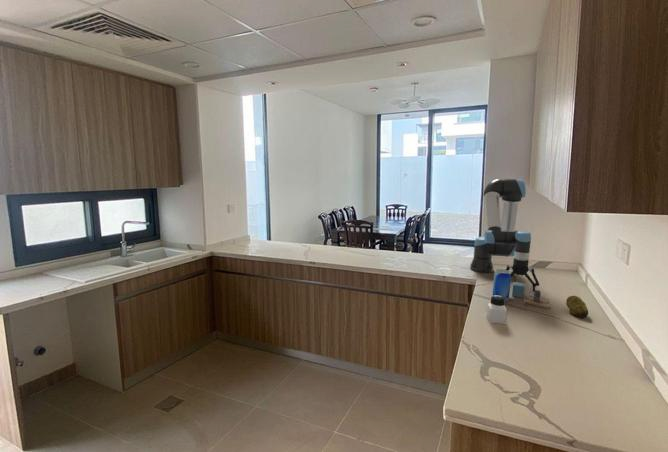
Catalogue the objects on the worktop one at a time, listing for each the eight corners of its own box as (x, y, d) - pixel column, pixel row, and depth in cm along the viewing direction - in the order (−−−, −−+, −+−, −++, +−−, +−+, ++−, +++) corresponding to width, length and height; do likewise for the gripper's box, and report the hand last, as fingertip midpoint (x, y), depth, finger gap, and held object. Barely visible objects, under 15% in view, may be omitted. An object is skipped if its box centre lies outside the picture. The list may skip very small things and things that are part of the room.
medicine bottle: (505, 324, 168) (508, 300, 166) (489, 322, 170) (491, 299, 168) (502, 317, 175) (504, 294, 173) (486, 316, 177) (488, 293, 175)
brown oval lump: (568, 317, 176) (570, 301, 175) (564, 307, 188) (565, 292, 186) (588, 320, 173) (590, 304, 171) (582, 310, 184) (585, 295, 183)
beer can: (505, 295, 203) (508, 268, 200) (511, 301, 195) (513, 273, 192) (490, 295, 204) (492, 268, 201) (495, 301, 196) (497, 273, 193)
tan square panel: (523, 297, 201) (524, 286, 200) (548, 300, 196) (549, 289, 195) (524, 304, 191) (525, 293, 190) (550, 308, 186) (551, 296, 185)
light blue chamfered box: (512, 292, 208) (513, 281, 207) (522, 294, 206) (524, 283, 205) (512, 295, 203) (513, 284, 202) (523, 297, 201) (524, 286, 200)
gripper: (496, 257, 203) (493, 293, 206) (547, 263, 192) (543, 300, 196) (497, 254, 209) (494, 289, 213) (546, 259, 199) (542, 296, 202)
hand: (517, 294), depth 204 cm, fingers open, 13 cm apart
